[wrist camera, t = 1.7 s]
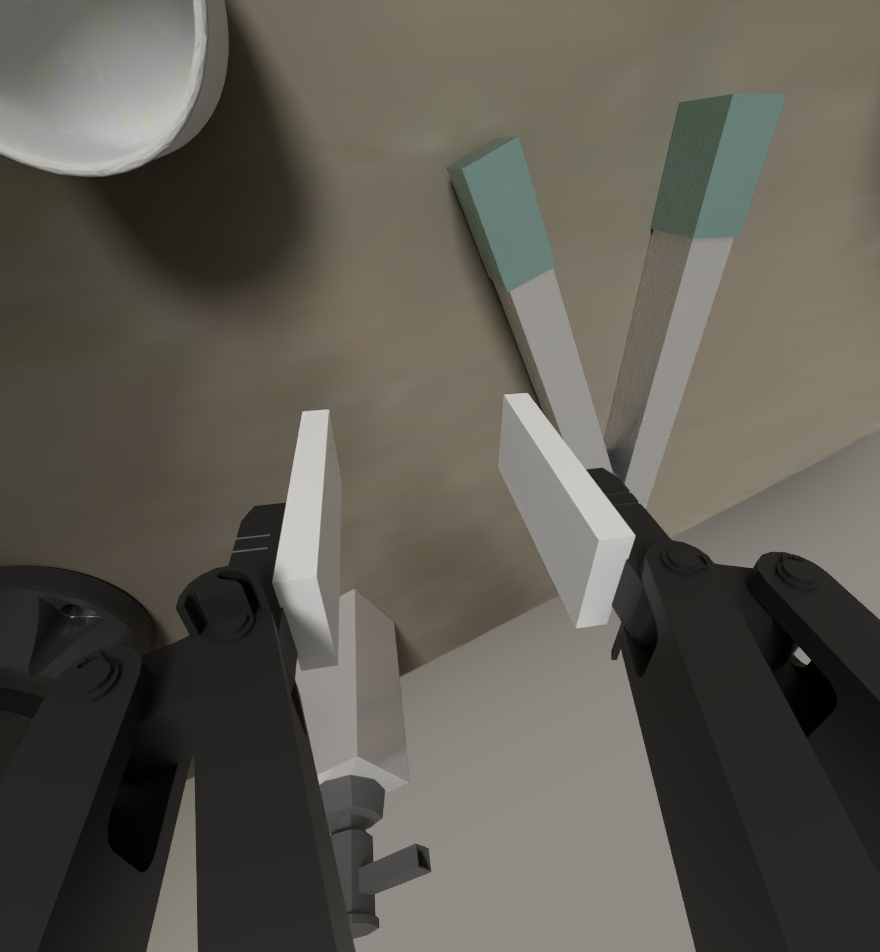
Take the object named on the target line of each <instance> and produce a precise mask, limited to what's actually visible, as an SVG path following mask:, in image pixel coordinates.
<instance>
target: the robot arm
mask: <svg viewBox="0 0 880 952" xmlns="http://www.w3.org/2000/svg"><path fill="white" fill-rule="evenodd" d="M498 468H499V470H500V473H501V475H502V477H503V479H504V481H505V483H506V485H507V487H508V489H509V491H510V493H511V495H512V497H513V500H514V502H515V504H516V506H517V508H518V510H519V512H520V514H521V516H522V518H523V520H524V522H525V524H526V527H527V529H528V531H529V533H530V535H531V537H532V539H533V541H534V543H535V545H536V547H537V549H538V551H539V553H540V556H541V558H542V560H543V562H544V564H545V566H546V568H547V570H548V572H549V574H550V576H551V578H552V580H553V583H554V585H555V587H556V589H557V591H558V593H559V595H560V597H561V599H562V601H563V603H564V605H565V607H566V610H567V612H568V614H569V616H570V618H571V620H572V622H573V624H574V626H575V628H576V629H577V628H584V627H590V626H597V625H603V624H607V623H608V619H609V617H610V614H611V611H612V607H613V608H614V609H615V612H616V613H617V615H618V617H619V618H620V620H621V625H620V628H619V631H618V634H617V637H616V639H615V642H614V645H613V648H612V653H611V656H612V657H611V659H612V660H617V657H618V655H619V652H620V649H621V651H622V655H623V658H624V662H625V667H626V671H627V675H628V679H629V682H630V687H631V691H632V695H633V699H634V703H635V707H636V711H637V715H638V719H639V723H640V727H641V731H642V735H643V739H644V744H645V748H646V752H647V756H648V759H649V764H650V768H651V772H652V776H653V780H654V784H655V788H656V792H657V796H658V800H659V804H660V808H661V812H662V816H663V820H664V824H665V828H666V832H667V836H668V840H669V844H670V849H671V853H672V856H673V860H674V865H675V868H676V873H677V877H678V881H679V885H680V889H681V893H682V897H683V901H684V905H685V909H686V913H687V917H688V921H689V925H690V929H691V933H692V937H693V941H694V945H695V949H696V952H880V620H879V619H878V618H877V617H876V616H875V615H874V614H873V613H872V612H870V611H869V610H868V609H867V608H866V607H865V606H864V605H863V604H861V603H860V602H859V601H858V600H857V599H856V598H855V597H854V596H852V595H851V594H850V593H849V592H848V591H847V590H846V589H845V588H844V587H843V586H841V585H840V584H839V583H838V582H837V581H836V580H835V579H834V578H833V577H832V576H830V575H829V574H828V573H827V572H826V571H824V570H823V569H822V568H820V567H819V566H817V565H816V564H815V563H813V562H811V561H809V560H806V559H804V558H802V557H800V556H797V555H793V554H789V553H785V552H770V553H766V554H763V555H762V556H761V557H760V558H759V559H758V561H757V562H756V564H755V566H754V568H745V567H736V566H728V565H720V564H715V563H713V562H712V561H711V559H710V558H709V556H708V555H706V554H705V553H703V552H702V551H700V550H699V549H698V548H696V547H693V546H691V545H689V544H686V543H684V542H678V541H673V540H671V539H670V538H669V537H668V535H667V534H666V533H665V532H664V531H663V529H662V528H661V527H660V526H659V525H658V524H657V522H656V521H655V520H654V519H653V518H652V516H651V515H650V514H649V513H648V512H647V510H646V509H645V508H644V507H643V506H642V505H641V504H639V503H638V500H637V499H636V497H635V496H634V495H633V494H632V493H630V490H629V489H628V488H627V487H626V486H625V484H624V483H623V482H622V481H621V480H620V478H618V477H617V476H615V475H614V474H612V473H610V472H609V471H607V470H606V469H604V468H594V469H585V468H584V467H583V465H582V464H581V463H580V462H579V460H578V459H577V458H576V456H575V455H574V454H573V452H572V451H571V450H570V448H569V447H568V446H567V444H566V443H565V442H564V440H563V439H562V438H561V436H560V435H559V434H558V432H557V431H556V430H555V429H554V427H553V426H552V425H551V423H550V422H549V421H548V419H547V418H546V417H545V415H544V414H543V413H542V411H541V410H540V409H539V407H538V406H537V405H536V403H535V402H534V401H533V399H532V398H531V397H530V396H529V394H528V393H521V394H509V395H504V400H503V413H502V426H501V439H500V452H499V465H498ZM341 493H342V483H341V477H340V471H339V465H338V460H337V454H336V448H335V442H334V436H333V430H332V424H331V418H330V412H329V409H328V410H316V411H304V412H302V418H301V423H300V429H299V434H298V440H297V446H296V451H295V457H294V463H293V468H292V474H291V479H290V485H289V491H288V496H287V502H286V503H279V504H270V505H261V506H254V507H253V508H252V510H251V511H250V512H249V513H248V514H247V515H246V516H245V518H244V519H243V520H242V521H241V524H240V528H239V531H238V535H237V540H236V541H235V545H234V548H233V554H232V555H231V559H230V562H229V565H228V566H225V567H220V568H216V569H213V570H211V571H209V572H206V573H204V574H202V575H200V576H199V577H198V578H196V579H195V580H194V581H192V582H191V583H190V584H188V586H187V587H186V588H185V589H184V591H183V592H182V593H181V594H180V596H179V599H178V602H177V606H176V610H177V612H178V613H179V615H180V617H181V619H182V621H183V623H184V625H185V626H186V628H187V630H188V632H189V634H190V635H189V636H187V637H185V638H183V639H181V640H179V641H177V642H175V643H173V644H170V645H168V646H165V647H163V648H160V649H158V650H155V651H152V652H150V650H151V648H152V645H153V642H154V628H153V625H152V622H151V620H150V618H149V616H148V615H147V613H146V612H145V611H144V610H143V608H142V607H141V606H140V605H139V604H138V603H137V602H136V601H134V600H133V599H132V598H131V597H129V596H128V595H126V594H125V593H123V592H122V591H120V590H119V589H117V588H115V587H113V586H111V585H109V584H107V583H105V582H102V581H100V580H98V579H95V578H92V577H89V576H86V575H83V574H79V573H76V572H72V571H67V570H62V569H56V568H49V567H40V566H7V567H0V952H146V950H147V945H148V941H149V937H150V932H151V928H152V923H153V920H154V915H155V911H156V907H157V902H158V898H159V893H160V889H161V885H162V881H163V876H164V872H165V868H166V864H167V860H168V855H169V851H170V846H171V842H172V837H173V834H174V829H175V825H176V821H177V817H178V812H179V808H180V804H181V799H182V795H183V791H184V787H185V782H186V778H187V774H188V769H189V765H190V761H191V756H193V755H194V759H195V812H196V813H195V814H196V871H197V921H198V922H197V923H198V925H197V926H198V952H355V947H354V943H353V938H352V933H351V929H350V924H349V919H348V915H347V910H346V906H345V901H344V896H343V892H342V887H341V882H340V878H339V873H338V869H337V864H336V859H335V855H334V850H333V845H332V841H331V836H330V832H329V827H328V822H327V818H326V813H325V809H324V804H323V799H322V795H321V790H320V785H319V781H318V776H317V772H316V767H315V762H314V758H313V753H312V748H311V744H310V739H309V735H308V730H307V725H306V721H305V716H304V711H303V707H302V702H301V698H300V693H299V689H298V686H297V684H296V681H295V675H296V665H297V659H298V662H299V665H300V668H301V671H305V670H311V669H318V668H324V667H331V666H337V665H338V647H339V596H340V544H341ZM799 647H800V648H801V649H802V650H803V651H804V653H805V654H806V655H807V656H808V657H809V658H810V659H811V661H810V663H809V664H808V665H806V664H804V663H802V662H801V661H800V660H799V659H797V658H796V656H795V655H794V653H795V652H796V650H797V649H798V648H799Z"/></svg>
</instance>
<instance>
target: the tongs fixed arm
mask: <svg viewBox="0 0 880 952" xmlns="http://www.w3.org/2000/svg"><path fill="white" fill-rule="evenodd" d="M786 95H787V94H730V95H724V96H718V97H712V98H706V99H699V100H693V101H687V102H681V103H680V104H679V108H678V112H677V117H676V121H675V126H674V130H673V134H672V139H671V143H670V147H669V152H668V156H667V161H666V165H665V169H664V174H663V178H662V182H661V187H660V191H659V195H658V200H657V204H656V209H655V213H654V217H653V222H652V226H651V229H653V232H652V236H651V240H650V244H649V249H648V253H647V257H646V262H645V266H644V270H643V275H642V279H641V283H640V288H639V292H638V296H637V301H636V305H635V309H634V314H633V318H632V322H631V327H630V331H629V335H628V340H627V344H626V348H625V353H624V357H623V361H622V366H621V370H620V374H619V379H618V383H617V387H616V392H615V396H614V400H613V405H612V409H611V413H610V418H609V422H608V426H607V431H606V435H605V439H604V444H605V447H606V450H607V454H608V457H609V461H610V464H611V467H612V470H613V471H614V472H615V474H616V475H617V476H618V477H619V478H620V480H621V481H622V482H623V483H624V484H625V486H626V487H627V488H628V489H629V490H630V493H632V494H633V495H634V496H635V497H636V499H637V500H638V503H639V504H641V505H642V506H643V507H644V508H645V509H646V507H647V504H648V501H649V497H650V494H651V491H652V488H653V485H654V482H655V479H656V476H657V473H658V470H659V467H660V464H661V461H662V458H663V455H664V451H665V448H666V445H667V442H668V439H669V436H670V433H671V430H672V427H673V424H674V421H675V418H676V415H677V412H678V409H679V405H680V402H681V399H682V396H683V393H684V390H685V387H686V384H687V381H688V378H689V375H690V372H691V369H692V366H693V362H694V359H695V356H696V353H697V350H698V347H699V344H700V341H701V338H702V335H703V332H704V329H705V326H706V323H707V320H708V316H709V313H710V310H711V307H712V304H713V301H714V298H715V295H716V292H717V289H718V286H719V283H720V280H721V277H722V273H723V270H724V267H725V264H726V261H727V258H728V255H729V252H730V249H731V246H732V243H733V240H734V237H740V234H741V231H742V228H743V225H744V222H745V219H746V216H747V213H748V210H749V207H750V204H751V201H752V198H753V195H754V192H755V189H756V186H757V183H758V180H759V177H760V174H761V171H762V168H763V165H764V162H765V159H766V156H767V153H768V150H769V147H770V144H771V141H772V138H773V135H774V132H775V128H776V125H777V122H778V119H779V116H780V113H781V110H782V107H783V104H784V101H785V98H786Z"/></svg>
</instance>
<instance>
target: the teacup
mask: <svg viewBox="0 0 880 952" xmlns="http://www.w3.org/2000/svg"><path fill="white" fill-rule="evenodd" d="M228 54H229V36H228V21H227V13H226V6H225V1H224V0H0V154H2V155H4V156H6V157H9V158H11V159H13V160H16V161H18V162H20V163H23V164H25V165H28V166H31V167H34V168H37V169H40V170H44V171H48V172H52V173H57V174H62V175H70V176H83V177H104V176H112V175H117V174H122V173H126V172H129V171H132V170H134V169H137V168H140V167H142V166H143V165H145V164H147V163H149V162H150V161H152V160H154V159H157V158H160V157H162V156H165V155H167V154H169V153H171V152H173V151H175V150H177V149H179V148H181V147H182V146H183V145H185V144H186V143H188V142H189V141H190V140H191V139H192V138H194V137H195V136H196V135H197V134H198V133H199V132H200V131H201V129H202V128H203V127H204V126H205V124H206V123H207V122H208V120H209V119H210V117H211V116H212V114H213V112H214V110H215V108H216V106H217V104H218V102H219V99H220V96H221V93H222V90H223V86H224V83H225V78H226V72H227V64H228Z"/></svg>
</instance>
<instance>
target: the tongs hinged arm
mask: <svg viewBox="0 0 880 952" xmlns="http://www.w3.org/2000/svg"><path fill="white" fill-rule="evenodd" d="M447 170H448V172H449V175H450V178H451V180H452V183H453V185H454V188H455V191H456V193H457V196H458V198H459V201H460V204H461V206H462V209H463V211H464V214H465V217H466V219H467V222H468V225H469V227H470V230H471V232H472V235H473V238H474V240H475V243H476V245H477V248H478V251H479V253H480V256H481V258H482V261H483V264H484V266H485V269H486V271H487V274H488V276H489V277H490V278H491V279H492V280H493V282H494V284H495V287H496V290H497V292H498V295H499V298H500V300H501V303H502V306H503V308H504V311H505V313H506V316H507V319H508V321H509V324H510V327H511V329H512V332H513V334H514V337H515V340H516V342H517V345H518V348H519V350H520V353H521V356H522V358H523V361H524V363H525V366H526V369H527V371H528V374H529V377H530V379H531V382H532V385H533V387H534V390H535V392H536V395H537V398H538V400H539V403H540V406H541V408H542V411H543V413H544V415H545V417H546V418H547V419H548V421H549V422H550V423H551V425H552V426H553V427H554V429H555V430H556V431H557V432H558V434H559V435H560V436H561V438H562V439H563V440H564V442H565V443H566V444H567V446H568V447H569V448H570V450H571V451H572V452H573V454H574V455H575V456H576V458H577V459H578V460H579V462H580V463H581V464H582V465H583V467H584V468H585V469H594V468H604V469H606V470H607V471H609V472H610V473H612V474H614V475H615V476H617V475H616V474H615V472H614V471H613V470H612V467H611V464H610V461H609V457H608V454H607V450H606V447H605V444H604V440H603V437H602V433H601V430H600V427H599V423H598V420H597V416H596V413H595V410H594V406H593V403H592V399H591V396H590V393H589V389H588V386H587V382H586V379H585V376H584V372H583V369H582V365H581V362H580V359H579V355H578V352H577V348H576V345H575V341H574V338H573V335H572V331H571V328H570V324H569V321H568V318H567V314H566V311H565V307H564V304H563V301H562V297H561V294H560V290H559V287H558V284H557V280H556V277H555V273H554V270H553V267H555V266H556V264H555V261H554V257H553V254H552V251H551V247H550V244H549V240H548V237H547V233H546V230H545V226H544V223H543V219H542V216H541V212H540V209H539V206H538V202H537V199H536V195H535V192H534V188H533V185H532V181H531V178H530V174H529V171H528V168H527V164H526V161H525V157H524V154H523V150H522V147H521V143H520V140H519V136H516V137H508V138H499V139H494V140H492V141H491V142H489V143H487V144H486V145H484V146H482V147H481V148H479V149H477V150H475V151H474V152H472V153H470V154H469V155H467V156H465V157H464V158H462V159H460V160H459V161H457V162H455V163H453V164H452V165H450V166H448V167H447ZM617 477H618V476H617ZM618 478H619V477H618Z"/></svg>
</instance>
